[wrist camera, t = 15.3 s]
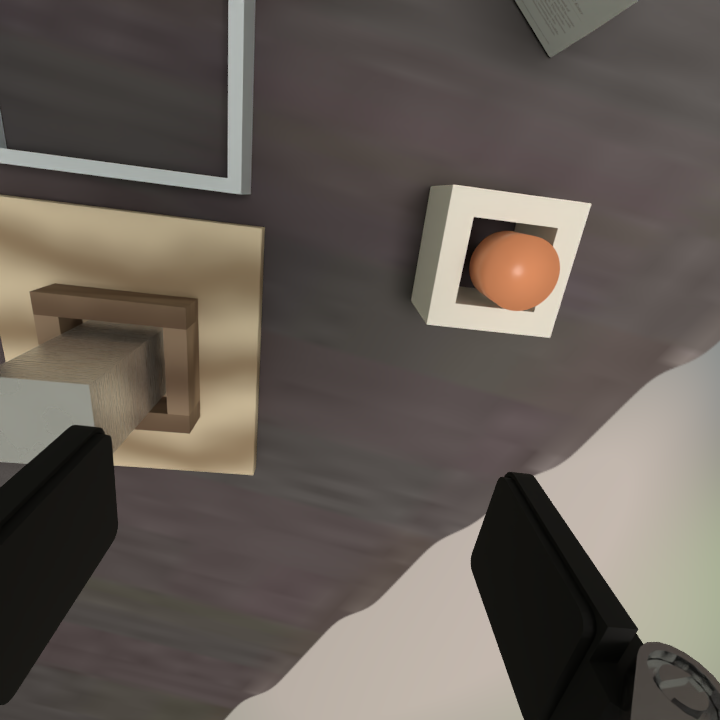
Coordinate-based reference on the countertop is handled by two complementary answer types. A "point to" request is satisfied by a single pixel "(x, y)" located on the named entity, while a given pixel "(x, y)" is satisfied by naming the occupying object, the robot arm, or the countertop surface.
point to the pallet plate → (148, 315)
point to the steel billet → (80, 386)
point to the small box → (568, 19)
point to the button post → (449, 245)
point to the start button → (514, 269)
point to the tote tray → (238, 125)
